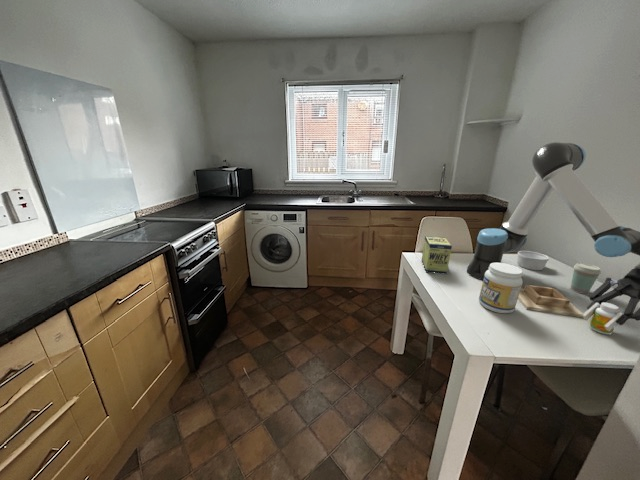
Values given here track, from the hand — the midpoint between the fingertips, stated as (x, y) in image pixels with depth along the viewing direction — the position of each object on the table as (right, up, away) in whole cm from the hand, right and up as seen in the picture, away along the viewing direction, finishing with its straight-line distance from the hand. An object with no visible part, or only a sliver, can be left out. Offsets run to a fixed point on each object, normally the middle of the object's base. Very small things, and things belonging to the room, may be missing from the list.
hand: (595, 322), depth 86 cm
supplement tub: (-23, +2, +16) cm, 28 cm away
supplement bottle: (+4, -3, +2) cm, 5 cm away
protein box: (-33, +13, +51) cm, 62 cm away
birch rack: (-2, +3, +18) cm, 18 cm away
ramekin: (+22, +14, +53) cm, 59 cm away
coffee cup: (+23, +5, +28) cm, 37 cm away
